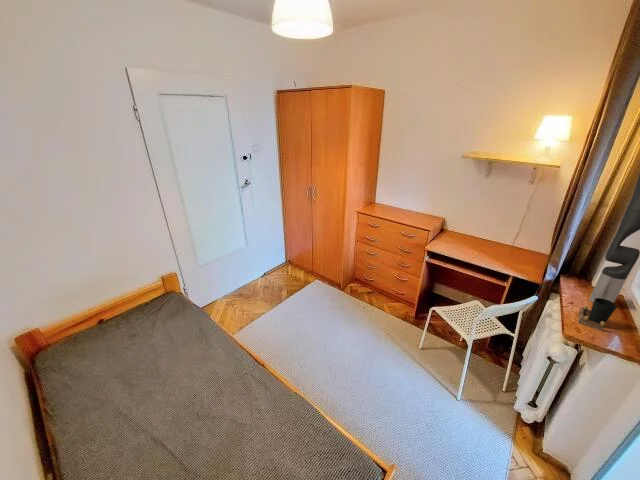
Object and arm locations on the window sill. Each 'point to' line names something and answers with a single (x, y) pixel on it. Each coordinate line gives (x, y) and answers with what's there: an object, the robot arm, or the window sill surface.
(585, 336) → the window sill surface
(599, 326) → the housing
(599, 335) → the window sill surface
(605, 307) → the cup
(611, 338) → the window sill surface
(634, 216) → the robot arm
